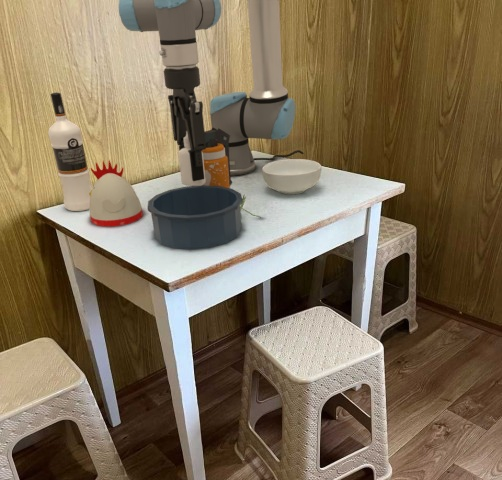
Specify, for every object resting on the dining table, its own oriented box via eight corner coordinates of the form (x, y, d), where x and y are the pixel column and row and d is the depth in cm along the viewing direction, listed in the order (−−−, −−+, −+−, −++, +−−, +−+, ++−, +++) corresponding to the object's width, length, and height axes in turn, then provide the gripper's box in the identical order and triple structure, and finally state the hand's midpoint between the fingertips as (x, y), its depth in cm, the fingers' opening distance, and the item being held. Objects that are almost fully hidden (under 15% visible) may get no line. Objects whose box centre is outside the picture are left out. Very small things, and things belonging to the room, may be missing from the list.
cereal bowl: (306, 178, 161) (307, 155, 157) (330, 194, 148) (331, 169, 144) (255, 186, 157) (254, 162, 153) (274, 203, 144) (274, 177, 140)
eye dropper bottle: (194, 179, 126) (188, 127, 119) (208, 184, 122) (203, 131, 115) (179, 183, 124) (173, 131, 117) (193, 188, 120) (186, 134, 113)
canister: (192, 205, 145) (184, 130, 134) (220, 195, 152) (214, 123, 141) (214, 212, 140) (207, 135, 129) (242, 201, 146) (238, 126, 135)
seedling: (250, 236, 137) (228, 224, 136) (261, 211, 139) (240, 199, 137) (258, 228, 130) (235, 215, 129) (270, 201, 132) (248, 188, 131)
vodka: (92, 198, 154) (67, 88, 138) (102, 207, 148) (78, 92, 131) (61, 205, 150) (32, 93, 133) (70, 214, 143) (41, 97, 127)
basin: (218, 208, 142) (216, 179, 138) (260, 235, 125) (259, 203, 121) (140, 227, 133) (134, 197, 129) (173, 258, 117) (168, 225, 112)
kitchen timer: (90, 211, 145) (78, 157, 136) (139, 205, 147) (130, 151, 139) (91, 229, 133) (78, 171, 125) (145, 222, 136) (135, 164, 128)
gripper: (148, 64, 114) (163, 170, 127) (181, 72, 101) (194, 190, 114) (180, 61, 117) (191, 164, 130) (216, 68, 104) (224, 183, 117)
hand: (193, 176), depth 122 cm, fingers closed on eye dropper bottle, 5 cm apart
